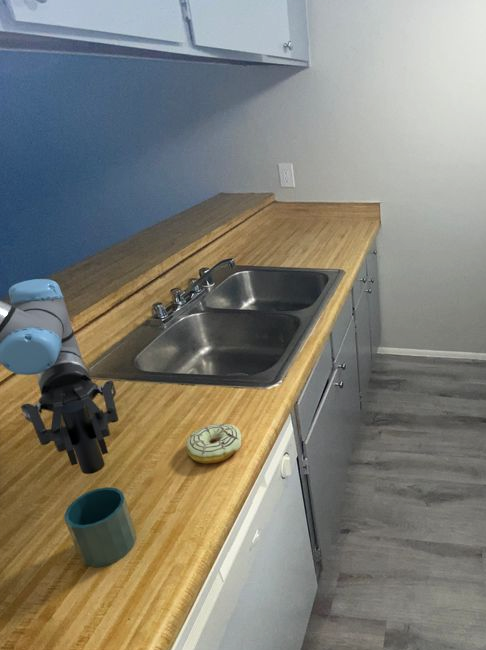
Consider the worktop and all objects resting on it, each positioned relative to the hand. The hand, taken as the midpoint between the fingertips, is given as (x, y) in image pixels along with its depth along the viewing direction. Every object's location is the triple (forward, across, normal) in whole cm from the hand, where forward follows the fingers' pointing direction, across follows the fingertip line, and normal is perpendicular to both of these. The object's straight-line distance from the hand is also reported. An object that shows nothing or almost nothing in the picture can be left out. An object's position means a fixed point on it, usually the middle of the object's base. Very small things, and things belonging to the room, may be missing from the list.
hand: (88, 451), depth 69 cm
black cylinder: (-5, 0, -7) cm, 9 cm away
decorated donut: (-13, -21, -20) cm, 32 cm away
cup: (-1, +1, -20) cm, 20 cm away
